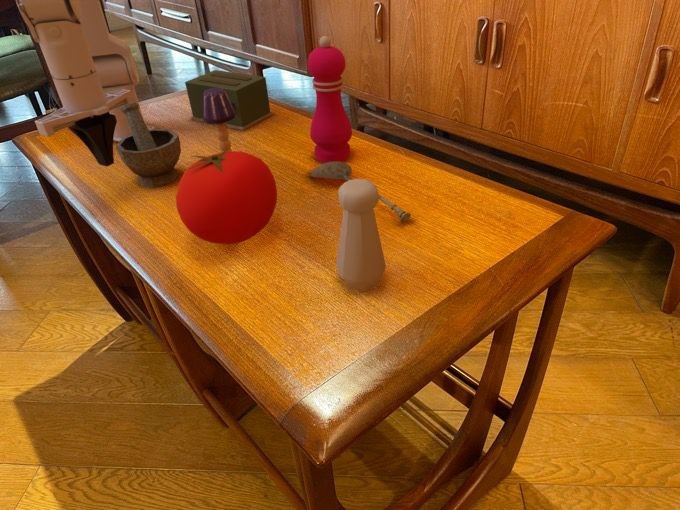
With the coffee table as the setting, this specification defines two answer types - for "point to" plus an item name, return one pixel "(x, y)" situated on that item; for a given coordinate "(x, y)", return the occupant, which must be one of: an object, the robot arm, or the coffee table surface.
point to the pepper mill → (329, 104)
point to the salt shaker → (359, 236)
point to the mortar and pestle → (149, 150)
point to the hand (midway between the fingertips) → (106, 163)
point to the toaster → (232, 96)
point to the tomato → (226, 197)
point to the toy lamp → (218, 114)
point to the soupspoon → (343, 173)
